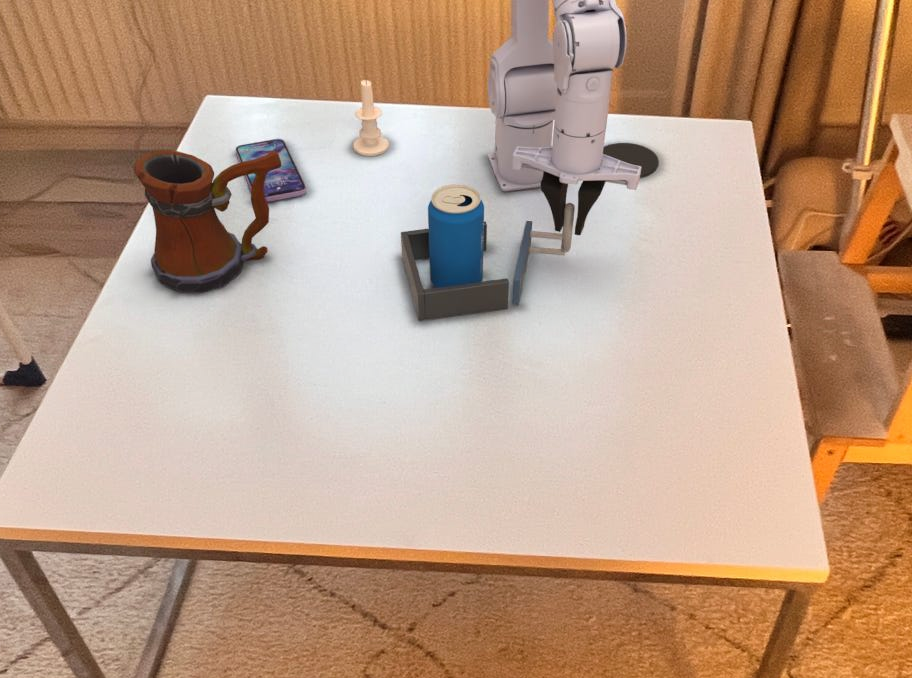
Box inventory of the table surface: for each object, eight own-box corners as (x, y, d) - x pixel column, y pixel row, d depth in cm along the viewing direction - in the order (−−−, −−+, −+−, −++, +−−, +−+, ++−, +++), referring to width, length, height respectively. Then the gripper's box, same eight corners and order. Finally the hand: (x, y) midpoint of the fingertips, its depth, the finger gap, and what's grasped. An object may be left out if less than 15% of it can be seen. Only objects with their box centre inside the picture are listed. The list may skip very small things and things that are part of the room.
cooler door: (571, 249, 118) (576, 194, 112) (561, 309, 110) (566, 253, 104) (524, 244, 119) (528, 190, 113) (511, 304, 111) (514, 248, 105)
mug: (291, 228, 123) (274, 122, 112) (300, 280, 115) (283, 173, 104) (153, 247, 121) (122, 141, 110) (154, 301, 113) (120, 194, 102)
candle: (395, 143, 137) (391, 75, 129) (376, 159, 134) (370, 91, 126) (366, 134, 139) (360, 66, 131) (346, 150, 136) (339, 82, 128)
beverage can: (478, 301, 112) (479, 216, 103) (425, 295, 113) (422, 211, 104) (486, 269, 116) (488, 184, 107) (435, 263, 117) (433, 179, 108)
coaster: (586, 149, 134) (586, 146, 134) (645, 142, 135) (646, 139, 135) (605, 182, 128) (605, 180, 128) (667, 174, 129) (667, 172, 129)
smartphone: (283, 137, 137) (308, 189, 127) (283, 143, 137) (308, 195, 128) (233, 146, 135) (255, 199, 126) (234, 151, 136) (256, 205, 126)
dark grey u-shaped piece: (485, 247, 119) (485, 220, 116) (507, 309, 110) (509, 282, 108) (402, 258, 118) (400, 231, 115) (418, 321, 109) (417, 294, 106)
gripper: (506, 132, 101) (502, 236, 111) (638, 153, 98) (621, 258, 108) (524, 101, 106) (518, 204, 116) (651, 120, 102) (634, 225, 112)
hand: (569, 228), depth 112 cm, fingers closed
